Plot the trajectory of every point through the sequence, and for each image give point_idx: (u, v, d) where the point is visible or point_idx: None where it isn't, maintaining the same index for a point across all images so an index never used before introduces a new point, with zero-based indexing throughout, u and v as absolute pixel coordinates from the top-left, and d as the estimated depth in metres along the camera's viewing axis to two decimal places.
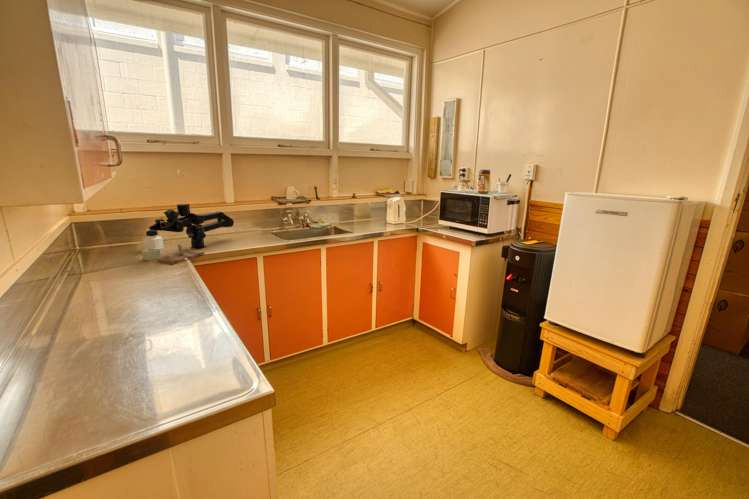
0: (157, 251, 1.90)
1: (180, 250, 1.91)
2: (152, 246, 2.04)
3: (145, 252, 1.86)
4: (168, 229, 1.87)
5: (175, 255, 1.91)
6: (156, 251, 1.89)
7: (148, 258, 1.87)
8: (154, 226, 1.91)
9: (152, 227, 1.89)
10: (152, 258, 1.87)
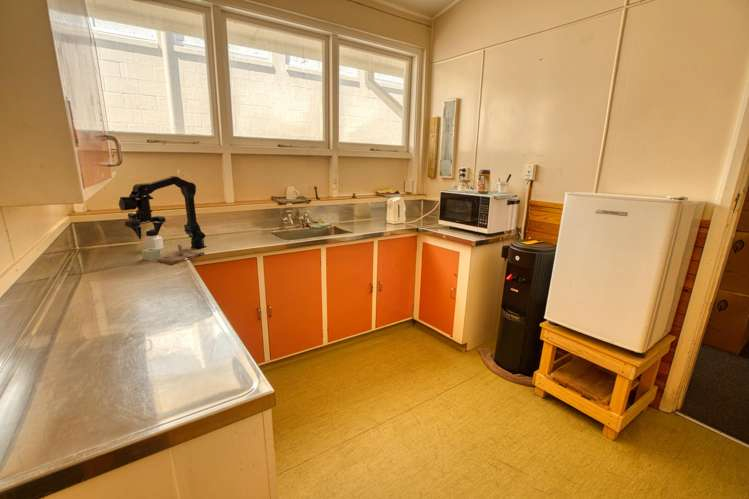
0: (157, 251, 1.90)
1: (180, 250, 1.91)
2: (152, 246, 2.04)
3: (145, 252, 1.86)
4: (138, 233, 1.81)
5: (175, 255, 1.91)
6: (156, 251, 1.89)
7: (148, 258, 1.87)
8: (155, 229, 1.91)
9: (155, 232, 1.91)
10: (152, 258, 1.87)
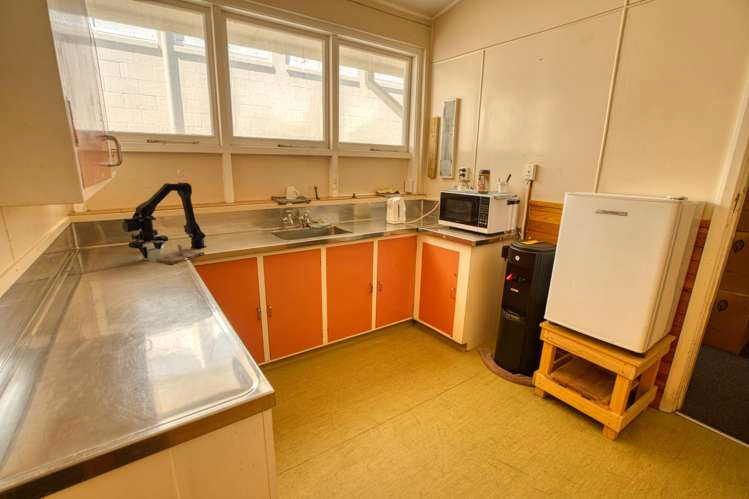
0: (157, 251, 1.90)
1: (180, 250, 1.91)
2: (152, 246, 2.04)
3: None
4: (144, 253, 1.85)
5: (175, 255, 1.91)
6: (156, 251, 1.89)
7: (148, 258, 1.87)
8: None
9: None
10: (152, 258, 1.87)
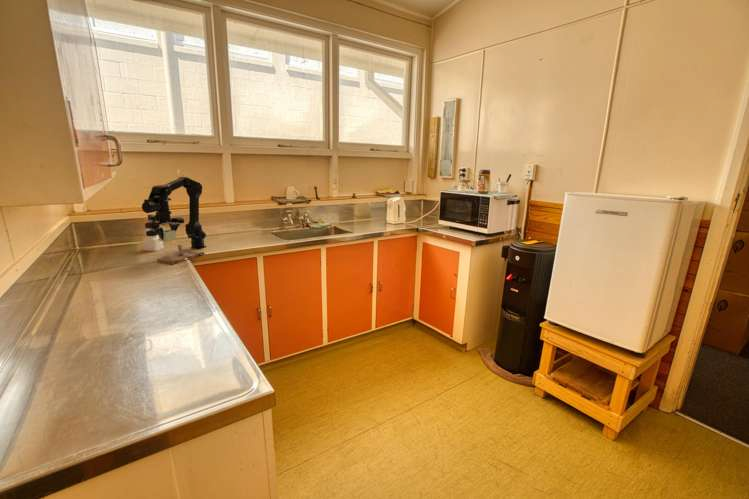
0: (173, 232, 1.88)
1: (180, 250, 1.91)
2: (152, 246, 2.04)
3: None
4: (160, 234, 1.84)
5: (175, 255, 1.91)
6: (172, 232, 1.88)
7: (164, 239, 1.86)
8: None
9: None
10: (168, 239, 1.86)
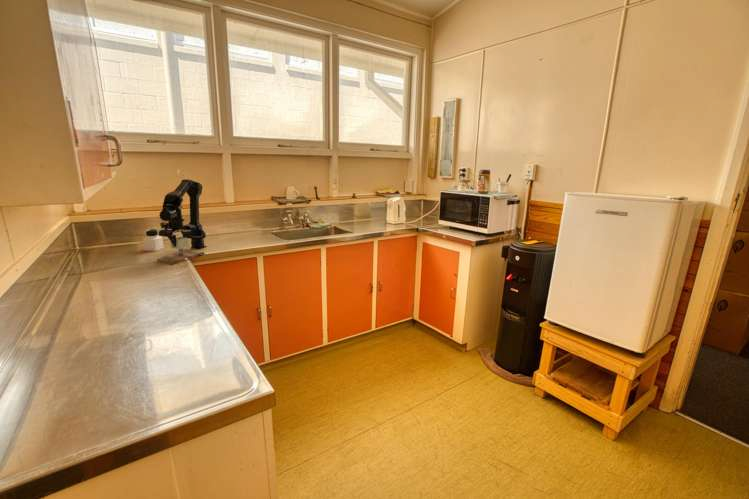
0: (185, 240, 1.90)
1: (180, 250, 1.91)
2: (152, 246, 2.04)
3: None
4: (173, 241, 1.86)
5: (175, 255, 1.91)
6: (185, 240, 1.90)
7: (177, 247, 1.87)
8: None
9: None
10: (180, 246, 1.88)
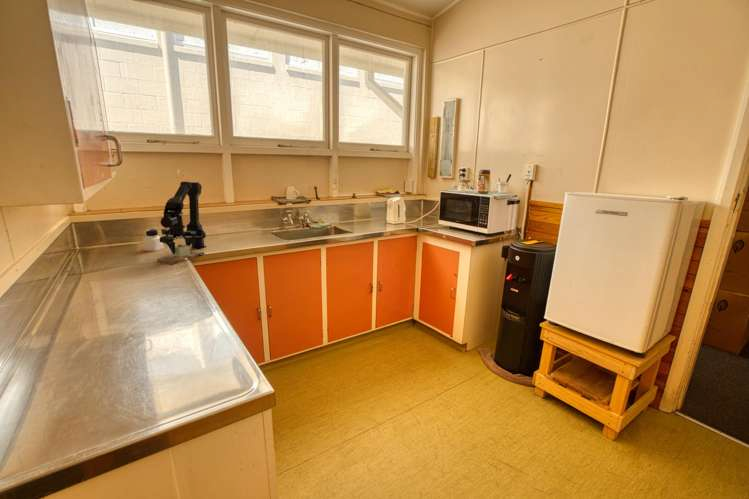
0: (187, 248, 1.92)
1: None
2: (152, 246, 2.04)
3: (175, 249, 1.88)
4: (172, 248, 1.86)
5: None
6: (186, 248, 1.91)
7: (178, 255, 1.89)
8: (186, 243, 1.95)
9: None
10: (182, 254, 1.89)
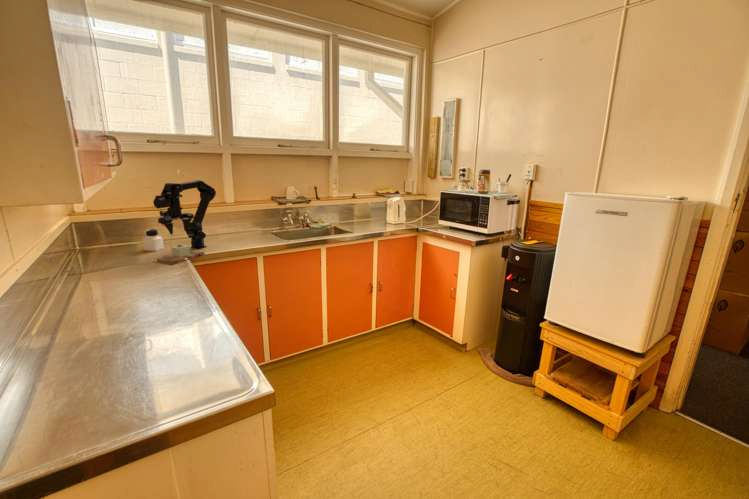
0: (187, 248, 1.92)
1: None
2: (152, 246, 2.04)
3: (175, 249, 1.88)
4: (170, 229, 1.92)
5: None
6: (186, 248, 1.91)
7: (178, 255, 1.89)
8: (184, 225, 2.02)
9: (184, 228, 2.02)
10: (182, 254, 1.89)
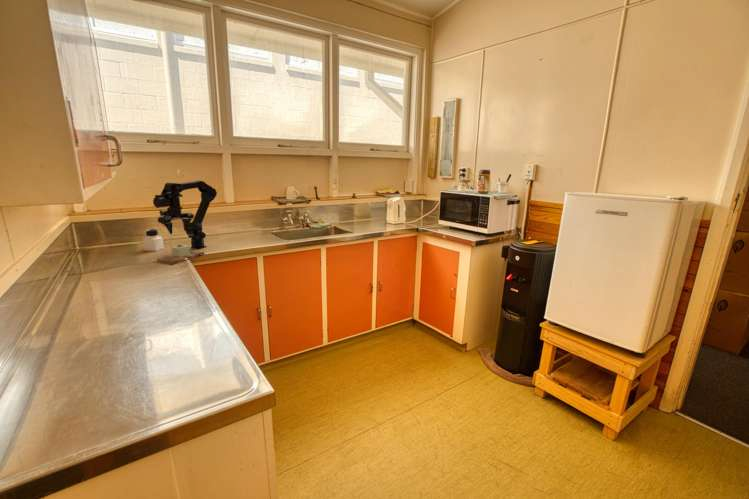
0: (187, 248, 1.92)
1: None
2: (152, 246, 2.04)
3: (175, 249, 1.88)
4: (169, 228, 1.92)
5: None
6: (186, 248, 1.91)
7: (178, 255, 1.89)
8: (184, 225, 2.02)
9: (184, 228, 2.02)
10: (182, 254, 1.89)
